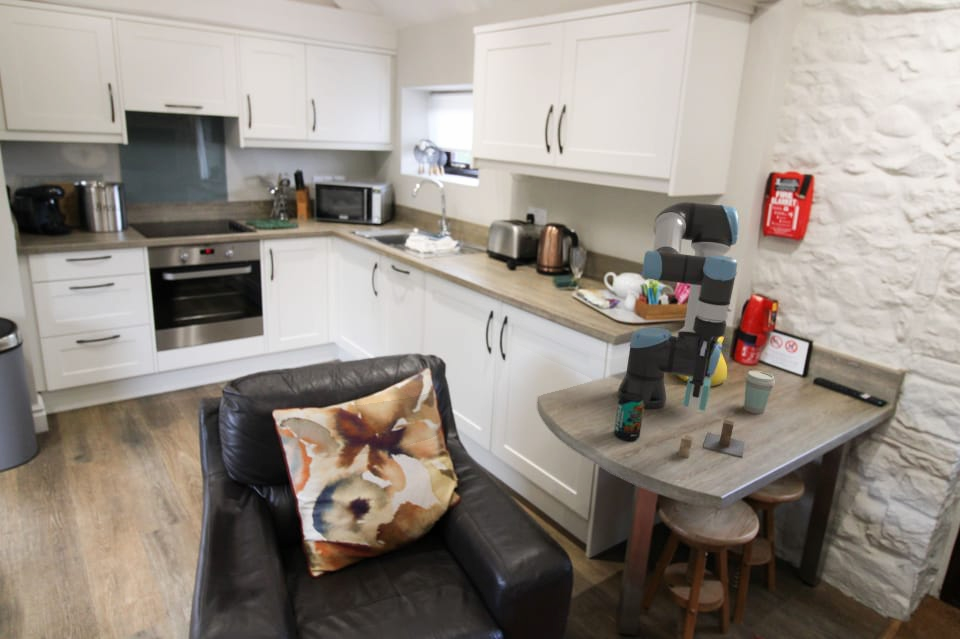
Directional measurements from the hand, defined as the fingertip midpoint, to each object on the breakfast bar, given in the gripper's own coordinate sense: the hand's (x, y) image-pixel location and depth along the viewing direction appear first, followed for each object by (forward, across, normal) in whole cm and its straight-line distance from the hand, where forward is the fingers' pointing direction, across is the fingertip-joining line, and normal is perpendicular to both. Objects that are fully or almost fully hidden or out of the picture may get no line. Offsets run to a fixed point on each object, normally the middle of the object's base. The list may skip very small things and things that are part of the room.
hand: (695, 403), depth 163 cm
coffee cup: (+15, +43, -14) cm, 48 cm away
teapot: (+15, +63, +5) cm, 65 cm away
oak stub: (+15, -1, 0) cm, 15 cm away
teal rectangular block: (0, 0, 0) cm, 0 cm away
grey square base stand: (+15, +11, -8) cm, 20 cm away
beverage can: (+15, +1, +16) cm, 22 cm away
